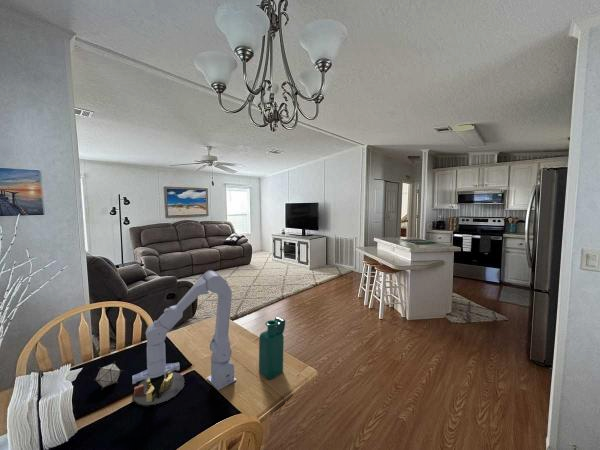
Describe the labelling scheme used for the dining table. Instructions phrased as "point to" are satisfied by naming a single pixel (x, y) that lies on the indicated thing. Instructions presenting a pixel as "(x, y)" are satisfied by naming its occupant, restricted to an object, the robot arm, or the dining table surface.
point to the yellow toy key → (165, 385)
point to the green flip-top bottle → (272, 349)
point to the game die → (108, 375)
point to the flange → (163, 396)
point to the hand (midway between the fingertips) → (157, 394)
